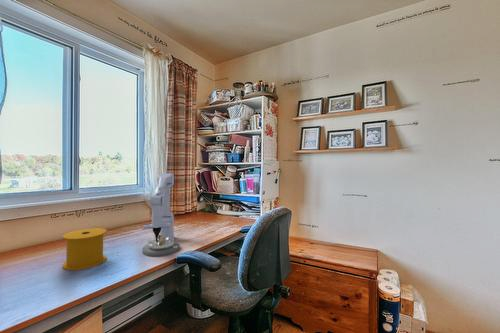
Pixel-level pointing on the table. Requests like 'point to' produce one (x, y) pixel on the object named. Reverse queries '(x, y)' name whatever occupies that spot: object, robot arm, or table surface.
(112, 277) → the table surface
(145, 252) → the base plate
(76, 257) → the spool
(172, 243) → the silver round metal fixture
